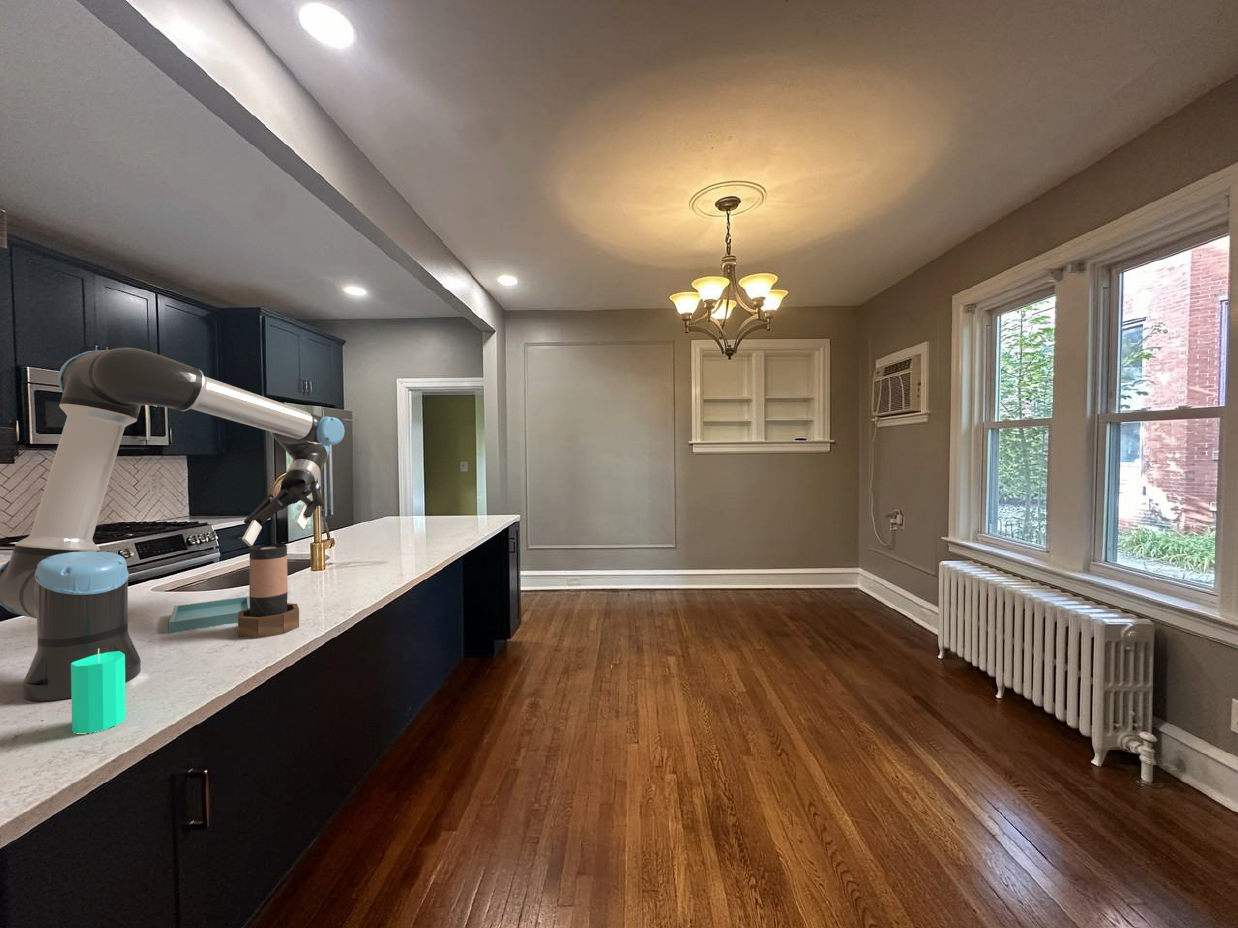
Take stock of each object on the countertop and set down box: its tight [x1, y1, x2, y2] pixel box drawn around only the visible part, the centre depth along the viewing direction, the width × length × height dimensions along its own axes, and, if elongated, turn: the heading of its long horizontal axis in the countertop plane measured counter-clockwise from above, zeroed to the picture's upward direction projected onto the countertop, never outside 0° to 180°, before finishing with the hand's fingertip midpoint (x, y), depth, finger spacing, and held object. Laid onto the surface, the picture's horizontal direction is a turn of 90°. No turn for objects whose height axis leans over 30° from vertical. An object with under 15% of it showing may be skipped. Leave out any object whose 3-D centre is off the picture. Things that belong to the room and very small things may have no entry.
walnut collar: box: [237, 602, 300, 639], centre depth 125 cm, size 12×12×4 cm
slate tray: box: [168, 595, 250, 634], centre depth 133 cm, size 16×16×2 cm
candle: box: [71, 649, 127, 733], centre depth 81 cm, size 6×6×12 cm
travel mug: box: [248, 543, 289, 617], centre depth 125 cm, size 8×8×20 cm
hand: (272, 534), depth 126 cm, fingers open, 13 cm apart
